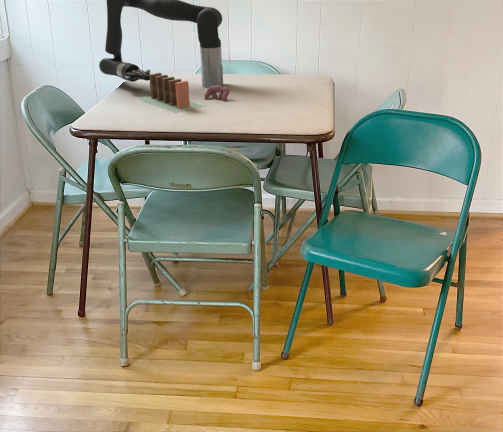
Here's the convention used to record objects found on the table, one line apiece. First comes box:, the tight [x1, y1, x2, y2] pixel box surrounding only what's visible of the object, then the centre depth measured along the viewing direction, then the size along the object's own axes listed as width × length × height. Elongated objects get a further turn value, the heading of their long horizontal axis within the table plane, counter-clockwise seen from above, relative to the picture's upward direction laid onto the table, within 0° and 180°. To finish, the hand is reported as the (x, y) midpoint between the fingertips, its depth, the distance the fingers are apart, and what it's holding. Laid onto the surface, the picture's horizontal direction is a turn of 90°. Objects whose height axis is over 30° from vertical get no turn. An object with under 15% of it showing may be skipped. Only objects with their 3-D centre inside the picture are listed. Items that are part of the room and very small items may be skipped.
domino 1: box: [149, 72, 163, 99], centre depth 264 cm, size 2×5×10 cm, turn 129°
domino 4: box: [168, 78, 182, 106], centre depth 254 cm, size 2×5×10 cm, turn 129°
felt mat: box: [137, 95, 205, 114], centre depth 259 cm, size 30×14×1 cm, turn 39°
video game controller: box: [203, 85, 230, 102], centre depth 262 cm, size 10×5×7 cm, turn 66°
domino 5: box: [175, 80, 190, 108], centre depth 250 cm, size 2×5×10 cm, turn 129°
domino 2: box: [155, 74, 169, 101], centre depth 261 cm, size 2×5×10 cm, turn 129°
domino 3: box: [162, 76, 176, 104], centre depth 257 cm, size 2×5×10 cm, turn 129°
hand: (148, 78), depth 268 cm, fingers closed
